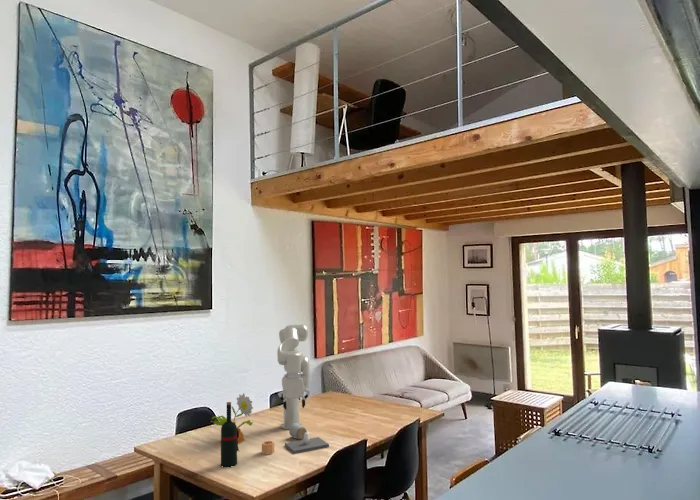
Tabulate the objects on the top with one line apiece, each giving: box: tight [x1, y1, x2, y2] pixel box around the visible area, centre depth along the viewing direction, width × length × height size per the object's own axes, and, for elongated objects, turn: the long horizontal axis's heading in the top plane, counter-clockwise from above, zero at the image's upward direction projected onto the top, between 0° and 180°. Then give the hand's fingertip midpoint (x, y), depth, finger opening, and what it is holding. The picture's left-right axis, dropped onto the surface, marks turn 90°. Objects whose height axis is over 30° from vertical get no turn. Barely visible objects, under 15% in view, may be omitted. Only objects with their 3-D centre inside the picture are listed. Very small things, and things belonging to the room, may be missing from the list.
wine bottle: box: [220, 401, 240, 468], centre depth 238 cm, size 8×10×30 cm
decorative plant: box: [210, 392, 254, 444], centre depth 272 cm, size 27×24×25 cm
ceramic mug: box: [288, 423, 308, 441], centre depth 275 cm, size 11×8×8 cm
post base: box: [284, 431, 330, 455], centre depth 260 cm, size 14×20×7 cm
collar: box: [261, 440, 275, 456], centre depth 252 cm, size 6×6×5 cm
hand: (294, 408), depth 260 cm, fingers open, 9 cm apart
